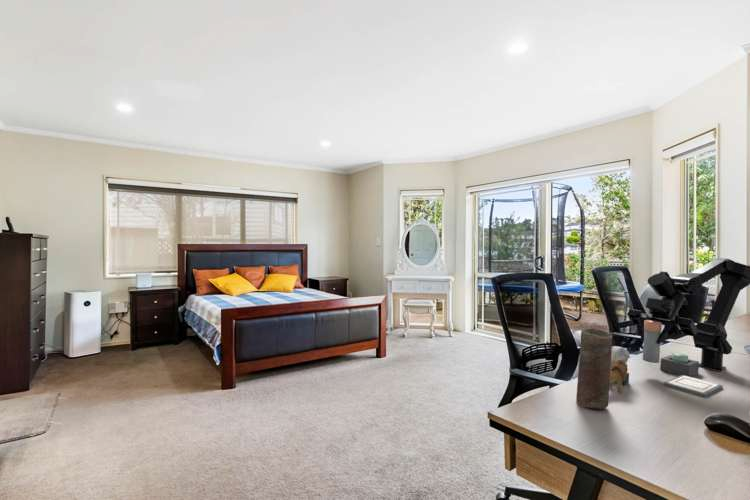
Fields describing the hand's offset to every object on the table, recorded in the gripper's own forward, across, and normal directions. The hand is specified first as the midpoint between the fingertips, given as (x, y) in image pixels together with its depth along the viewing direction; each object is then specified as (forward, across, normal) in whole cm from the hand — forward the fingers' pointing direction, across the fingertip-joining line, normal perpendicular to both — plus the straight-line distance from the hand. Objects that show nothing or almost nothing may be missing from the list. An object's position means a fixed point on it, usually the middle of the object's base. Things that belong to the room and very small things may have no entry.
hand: (649, 341), depth 123 cm
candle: (+36, +6, -19) cm, 41 cm away
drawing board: (+6, +11, +11) cm, 16 cm away
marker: (+4, 0, +6) cm, 7 cm away
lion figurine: (+26, +2, -9) cm, 28 cm away
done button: (-5, +2, +17) cm, 18 cm away
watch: (+19, -2, -2) cm, 19 cm away
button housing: (-3, +2, +19) cm, 20 cm away
